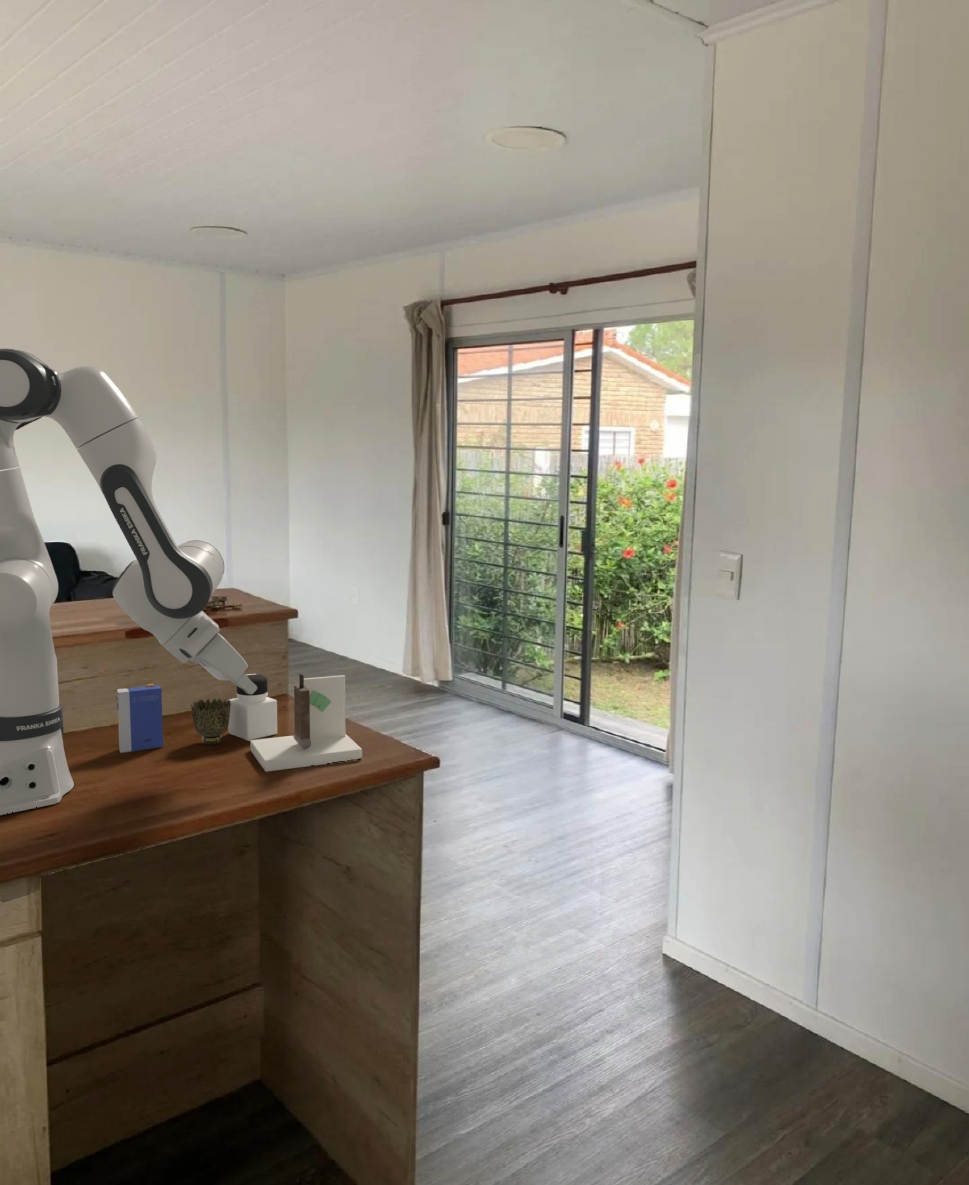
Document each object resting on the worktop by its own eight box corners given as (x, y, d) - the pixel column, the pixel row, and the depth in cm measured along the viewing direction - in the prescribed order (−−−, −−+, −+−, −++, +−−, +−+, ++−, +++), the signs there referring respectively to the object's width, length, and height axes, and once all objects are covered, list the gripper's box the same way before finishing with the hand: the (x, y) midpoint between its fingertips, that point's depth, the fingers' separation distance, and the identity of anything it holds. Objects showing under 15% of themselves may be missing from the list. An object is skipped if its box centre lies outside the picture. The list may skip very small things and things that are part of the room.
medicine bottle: (278, 734, 195) (277, 676, 193) (247, 741, 190) (246, 682, 188) (258, 726, 200) (257, 670, 198) (227, 733, 195) (226, 675, 193)
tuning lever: (300, 749, 177) (299, 678, 175) (293, 741, 182) (292, 671, 180) (311, 748, 178) (310, 677, 176) (304, 740, 183) (303, 670, 181)
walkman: (160, 743, 188) (158, 683, 186) (163, 747, 185) (161, 686, 183) (117, 748, 184) (115, 687, 182) (120, 752, 182) (117, 690, 180)
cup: (225, 749, 185) (224, 708, 184) (187, 748, 185) (185, 707, 184) (236, 737, 192) (235, 698, 191) (199, 736, 192) (198, 697, 191)
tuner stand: (265, 771, 173) (264, 695, 170) (250, 750, 184) (249, 678, 182) (362, 759, 180) (361, 686, 178) (341, 739, 192) (341, 671, 190)
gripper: (175, 653, 175) (232, 703, 178) (186, 650, 156) (250, 706, 160) (199, 627, 177) (255, 677, 180) (214, 621, 158) (276, 678, 162)
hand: (253, 691), depth 170 cm, fingers closed
